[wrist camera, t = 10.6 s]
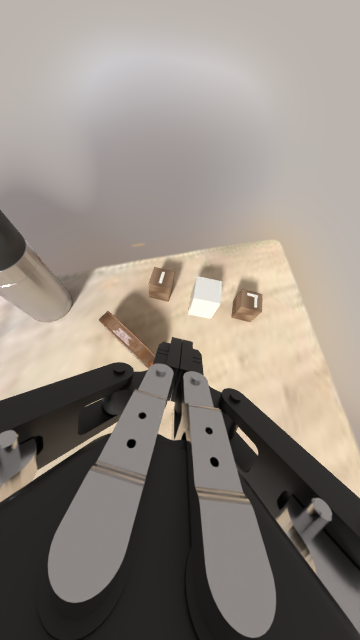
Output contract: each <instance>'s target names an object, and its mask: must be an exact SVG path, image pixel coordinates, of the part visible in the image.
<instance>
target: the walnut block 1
mask: <svg viewBox="0 0 360 640" xmlns="http://www.w3.org/2000/svg"><path fill="white" fill-rule="evenodd" d="M173 280H174V272H172V271H168V270H164V269H160V268H156V267H154V270H153V272H152V275H151V278H150V281H149V296H150V297H151V298H155V299H160V300H164V301H169V297H170V294H171V290H172V287H173Z"/></svg>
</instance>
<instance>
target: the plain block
mask: <svg viewBox="0 0 360 640" xmlns="http://www.w3.org/2000/svg"><path fill="white" fill-rule="evenodd" d="M221 291H222V281H218V280H213V279H209V278H204V277H199V276H197V277H196V280H195V283H194V287H193V290H192V293H191V297H190V304H189V310H188V314H190V315H195V316H200V317H205V318H210V319H211V317H212V316H213V314H214V313H215V311H216V310H217V308H218V307H219V305H220V303H221Z"/></svg>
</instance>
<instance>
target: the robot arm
mask: <svg viewBox="0 0 360 640" xmlns="http://www.w3.org/2000/svg"><path fill="white" fill-rule="evenodd" d="M0 296H2V297H3V298H5V299H6V300H8V301H9V302H11V303H12V304H14V305H15V306H17V307H18V308H19V309H21V310H22V311H24V312H25V313H27V314H28V315H30V316H31V317H33V318H34V319H36V320H38V321H41V322H52V321H55V320H58V319H60V318H62V317H63V316H65V315H66V314H67V313H68V311H69V310H70V308H71V305H72V298H71V296H70V294H69V293H68V292H67V291H66V289H65V288H64V287H63V286H62V284H61V283H60V282H59V280H58V279H57V278H56V277H55V276H54V274H53V273H52V272H51V271H50V270H49V268H48V267H47V266H46V264H45V263H44V262H43V261H42V260H41V258H40V257H39V256H38V255H37V253H36V252H35V251H34V250H33V249H32V247H31V246H30V245H29V244H28V243H27V241H26V240H25V239H24V238H23V237H22V235H21V234H20V233H19V232H18V230H17V229H16V228H15V227H14V226H13V225H12V223H11V222H10V221H9V220H8V219H7V217H6V216H5V215H4V214H3V213H2V212H1V210H0ZM171 395H172V396H171ZM170 398H171V401H173V402H175V406H174V409H173V413H172V440H169V439H167V438H165V437H163V436H161V435H159V434H158V430H159V427H160V423H161V419H162V416H163V412H164V408H165V407H166V404H167V401H170ZM99 399H101V400H99ZM97 400H99V401H97ZM95 401H97V402H95ZM93 402H95V403H93ZM91 403H93V404H91ZM89 404H90V405H89ZM87 405H88V406H87ZM85 406H86V407H85ZM116 422H117V424H116V426H115V428H114V430H113V432H112V433H110V434H107V435H104V436H101V437H99V438H97V439H95V440H94V441H92V442H90V443H89V444H87V445H86V446H84V447H83V448H81V449H80V450H78V451H77V452H75V453H74V454H72V455H71V456H69V457H68V458H66V459H65V460H63V461H62V462H60V463H59V464H57V465H56V466H54V467H53V468H51V469H50V470H48V471H47V472H45V473H44V474H42V475H41V476H39V477H38V478H36V479H35V480H33V478H34V476H35V474H36V472H37V470H38V469H40V468H42V467H43V466H45V465H47V464H48V463H50V462H52V461H53V460H55V459H57V458H58V457H60V456H62V455H63V454H65V453H67V452H68V451H70V450H71V449H73V448H75V447H76V446H78V445H80V444H81V443H83V442H85V441H86V440H88V439H90V438H91V437H93V436H95V435H96V434H98V433H100V432H101V431H103V430H104V429H106V428H108V427H109V426H111V425H113V424H114V423H116ZM238 427H239V428H240V429H241V430H242V431H243V432H244V433H245V434H246V435H247V436H248V437H249V438H250V440H251V441H252V442H253V443H254V444H255V445H256V447H257V449H258V455H257V454H256V453H255V452H254V451H253V450H252V449H251V448H250V447H249V446H248V444H247V443H246V442H245V441H244V440H243V439H242V438H241V437H240V436H239V434H238V433H237V432H236V430H237V428H238ZM32 480H33V481H32ZM31 481H32V482H31ZM0 640H360V498H359V497H358V496H356V495H355V494H354V493H353V492H352V491H351V490H350V489H349V488H347V487H346V486H345V485H344V484H343V483H342V482H341V481H340V480H339V479H337V478H336V477H335V476H334V475H333V474H332V473H331V472H330V471H328V470H327V469H326V468H325V467H324V466H323V465H322V464H321V463H319V462H318V461H317V460H316V459H315V458H314V457H313V456H312V455H310V454H309V453H308V452H307V451H306V450H305V449H304V448H303V447H301V446H300V445H299V444H298V443H297V442H296V441H295V440H294V439H292V438H291V437H290V436H289V435H288V434H287V433H286V432H285V431H283V430H282V429H281V428H280V427H279V426H278V425H277V424H276V423H274V422H273V421H272V420H271V419H270V418H269V417H268V416H267V415H265V414H264V413H263V412H262V411H261V410H260V409H259V408H258V407H256V406H255V405H254V404H253V403H252V402H251V401H250V400H249V399H248V398H246V397H245V396H244V395H243V394H242V393H240V392H239V391H237V390H235V389H231V388H227V389H224V390H223V391H222V393H221V392H219V391H217V390H215V389H213V388H211V387H210V386H209V385H208V381H207V379H206V378H205V377H204V376H203V365H202V355H201V353H200V352H199V351H198V350H195V349H193V342H191V341H187V340H182V339H178V338H174V337H172V340H171V344H170V343H166V342H163V343H161V344H160V345H159V347H158V350H157V353H156V356H155V359H154V362H153V365H151V366H150V367H149V369H148V370H146V371H143V372H134V371H133V368H132V367H131V366H130V365H128V364H126V363H120V362H118V363H112V364H109V365H106V366H103V367H100V368H97V369H94V370H91V371H88V372H85V373H82V374H79V375H76V376H73V377H70V378H67V379H64V380H61V381H58V382H55V383H52V384H49V385H46V386H43V387H40V388H37V389H34V390H31V391H28V392H25V393H22V394H19V395H16V396H13V397H10V398H7V399H4V400H1V401H0Z"/></svg>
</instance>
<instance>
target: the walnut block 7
mask: <svg viewBox="0 0 360 640" xmlns="http://www.w3.org/2000/svg"><path fill="white" fill-rule="evenodd" d="M261 312H262V294H259V293H256V292H252V291H248V290H244V289H242V291H241V292H240V293H239V294H238V296H237V297H236V298H235V300H234V301H233V308H232V318H236V319H240V320H244V321H248V322H251V321H252V320H253V319H254V318H255V317H257V316H258V315H259V314H260V313H261Z"/></svg>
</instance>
